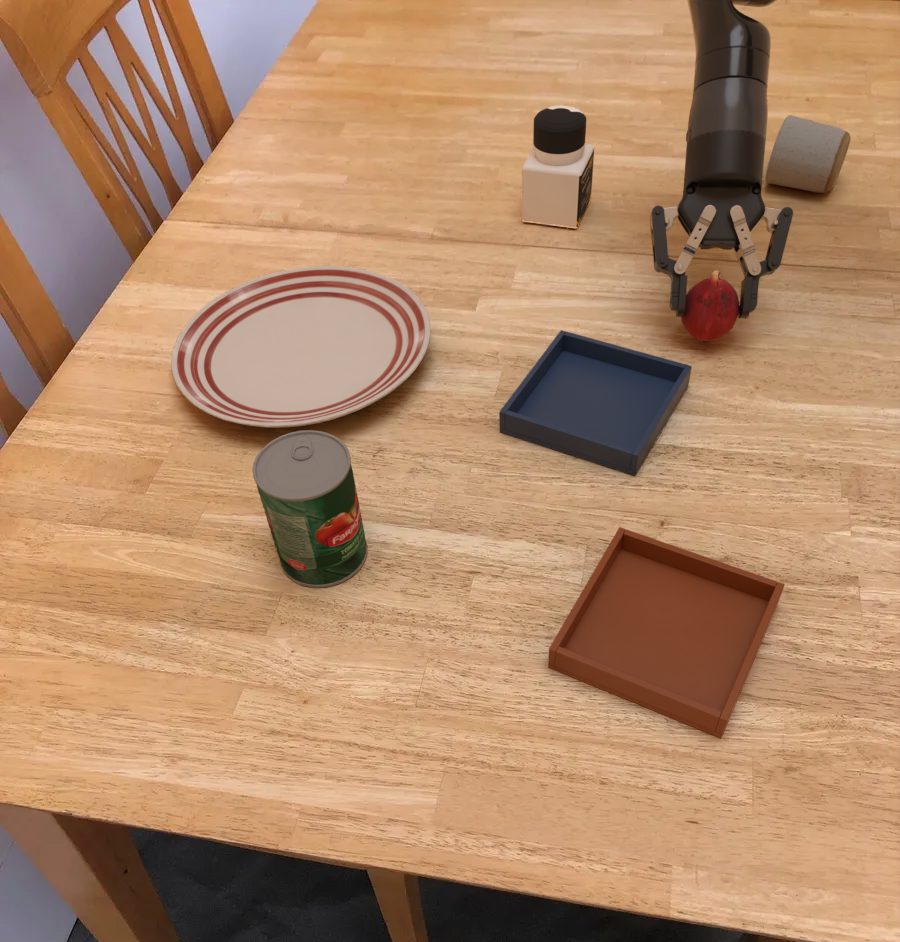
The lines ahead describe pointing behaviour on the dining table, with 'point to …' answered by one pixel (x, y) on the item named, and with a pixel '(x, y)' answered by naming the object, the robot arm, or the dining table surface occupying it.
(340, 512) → the canned tomato
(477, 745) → the dining table surface
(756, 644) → the copper tray
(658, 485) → the dining table surface
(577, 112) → the medicine bottle
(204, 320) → the dinner plate
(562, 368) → the blue tray
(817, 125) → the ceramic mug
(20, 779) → the dining table surface
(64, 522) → the dining table surface
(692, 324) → the onion
